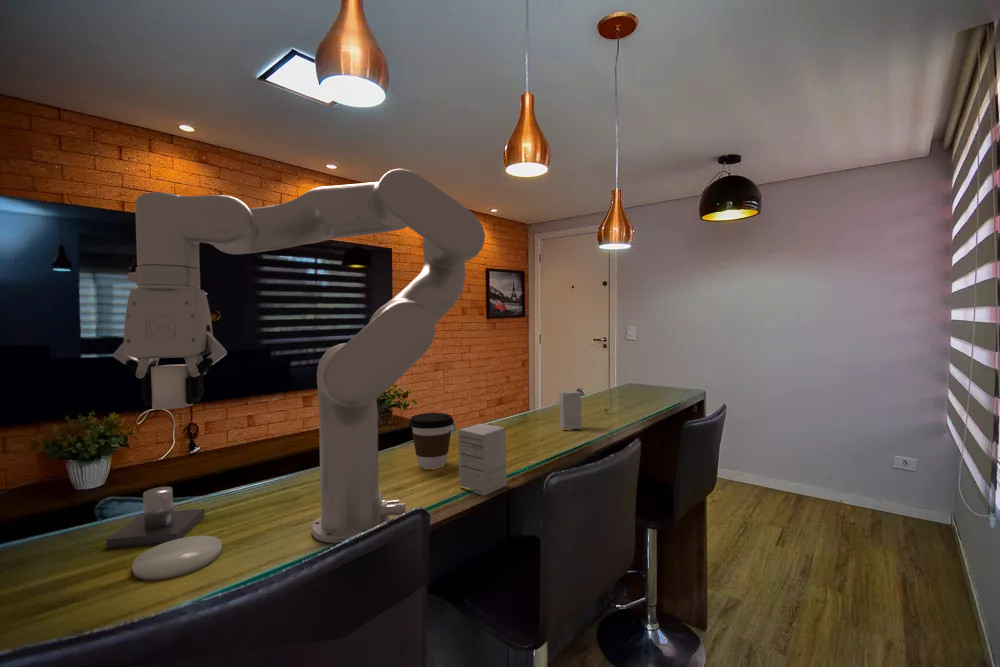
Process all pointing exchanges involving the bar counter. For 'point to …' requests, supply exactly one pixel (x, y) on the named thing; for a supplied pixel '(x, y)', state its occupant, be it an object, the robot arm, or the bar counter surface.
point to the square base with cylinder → (156, 522)
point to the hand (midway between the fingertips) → (173, 402)
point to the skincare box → (570, 410)
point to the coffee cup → (431, 438)
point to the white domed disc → (176, 557)
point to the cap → (169, 386)
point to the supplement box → (482, 458)
